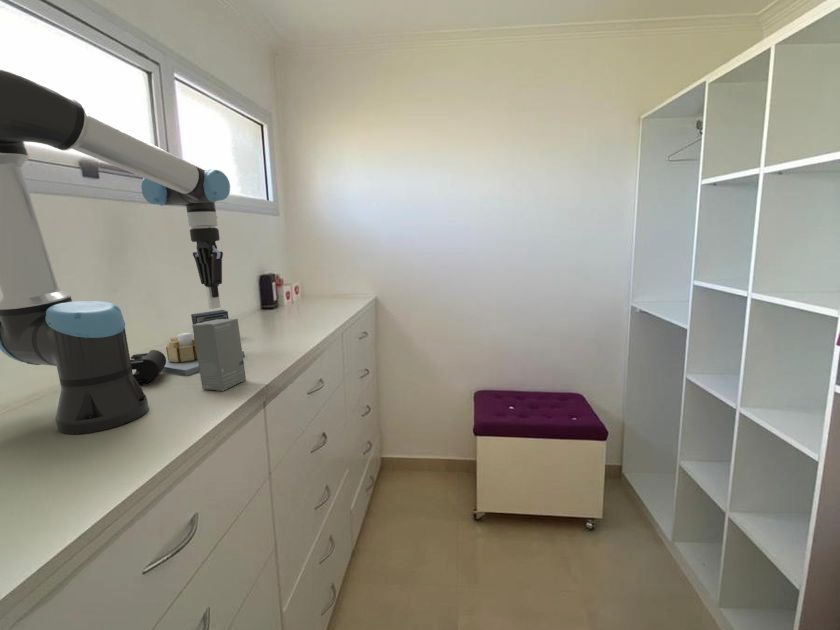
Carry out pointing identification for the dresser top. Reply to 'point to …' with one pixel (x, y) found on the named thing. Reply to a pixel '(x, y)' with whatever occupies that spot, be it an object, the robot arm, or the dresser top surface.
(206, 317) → the small box
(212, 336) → the grey rectangular box
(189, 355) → the gold ring with handle
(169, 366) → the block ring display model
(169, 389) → the dresser top surface
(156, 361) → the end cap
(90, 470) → the dresser top surface
